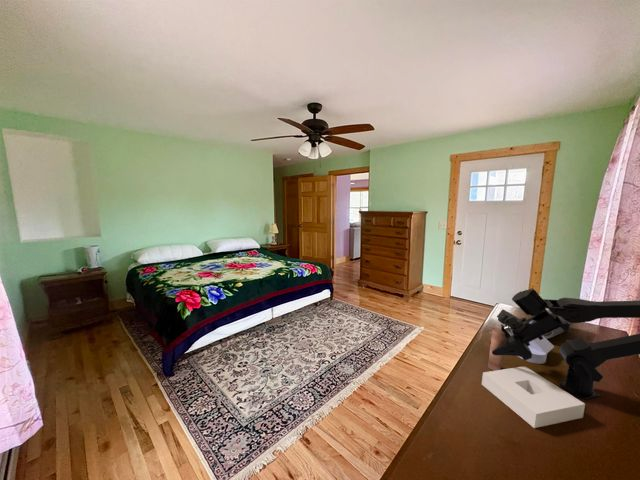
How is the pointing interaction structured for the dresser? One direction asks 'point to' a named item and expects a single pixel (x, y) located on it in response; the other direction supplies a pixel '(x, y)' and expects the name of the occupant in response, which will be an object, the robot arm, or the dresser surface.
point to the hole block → (533, 396)
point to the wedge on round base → (539, 350)
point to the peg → (496, 341)
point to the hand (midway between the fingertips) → (491, 348)
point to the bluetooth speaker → (557, 331)
